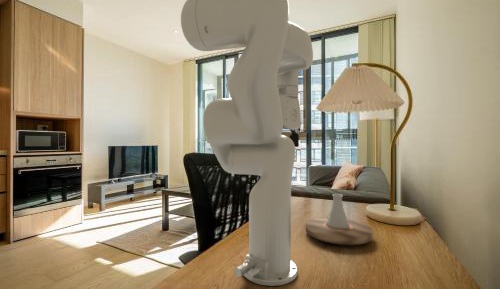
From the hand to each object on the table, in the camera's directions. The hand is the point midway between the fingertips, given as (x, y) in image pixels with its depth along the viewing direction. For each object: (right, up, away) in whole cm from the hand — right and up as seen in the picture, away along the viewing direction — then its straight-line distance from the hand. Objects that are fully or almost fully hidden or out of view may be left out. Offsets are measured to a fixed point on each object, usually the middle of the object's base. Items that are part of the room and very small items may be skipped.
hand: (286, 147), depth 81 cm
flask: (+16, -25, -1) cm, 30 cm away
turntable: (+16, -27, -1) cm, 32 cm away
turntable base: (+16, -28, -1) cm, 33 cm away
